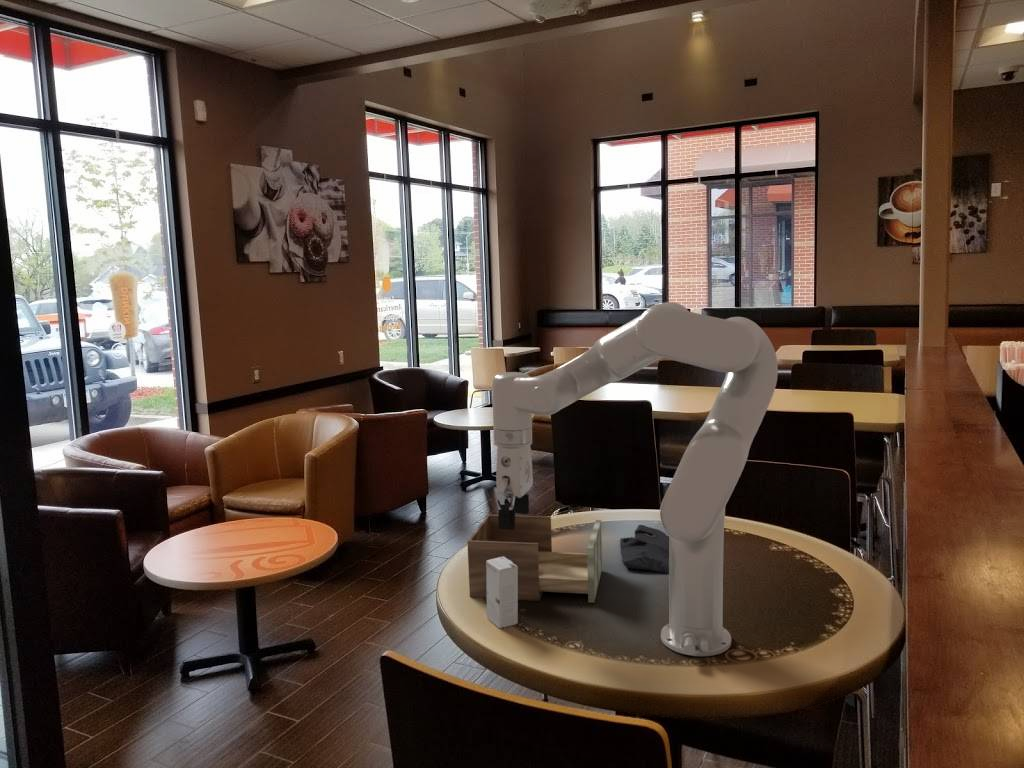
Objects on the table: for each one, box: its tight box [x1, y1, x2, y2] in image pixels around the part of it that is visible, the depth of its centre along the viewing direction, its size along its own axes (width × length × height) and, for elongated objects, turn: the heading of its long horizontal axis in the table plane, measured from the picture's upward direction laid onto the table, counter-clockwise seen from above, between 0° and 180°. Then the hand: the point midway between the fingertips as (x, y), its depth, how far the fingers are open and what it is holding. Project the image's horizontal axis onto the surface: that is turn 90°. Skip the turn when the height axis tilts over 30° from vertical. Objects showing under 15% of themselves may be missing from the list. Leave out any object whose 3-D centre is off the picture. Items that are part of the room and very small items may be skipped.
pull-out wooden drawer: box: [538, 519, 603, 604], centre depth 166 cm, size 18×15×12 cm
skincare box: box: [486, 556, 519, 629], centre depth 150 cm, size 6×4×12 cm
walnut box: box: [466, 513, 553, 602], centre depth 168 cm, size 18×15×12 cm
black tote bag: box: [619, 524, 670, 574], centre depth 182 cm, size 15×22×5 cm
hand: (514, 520), depth 150 cm, fingers open, 9 cm apart
